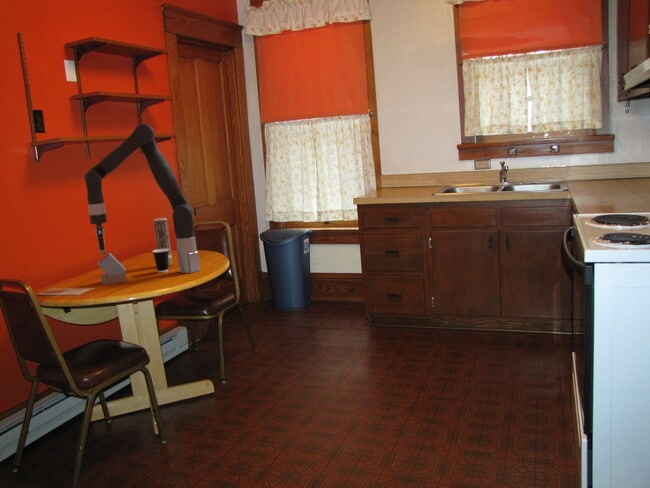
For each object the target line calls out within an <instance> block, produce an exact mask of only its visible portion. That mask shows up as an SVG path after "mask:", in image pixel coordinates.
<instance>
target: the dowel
mask: <svg viewBox="0 0 650 488" xmlns="http://www.w3.org/2000/svg"><path fill="white" fill-rule="evenodd" d="M96 238H97V240H98V237H97V236H96ZM103 238H104V239H105V236H104V237H103ZM99 239H102V237H99ZM97 246H98V252H99V256H106V255H107V248H106V241H105V240H104V247H105V249H104V250H100V247H99V242H98V241H97Z"/></svg>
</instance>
